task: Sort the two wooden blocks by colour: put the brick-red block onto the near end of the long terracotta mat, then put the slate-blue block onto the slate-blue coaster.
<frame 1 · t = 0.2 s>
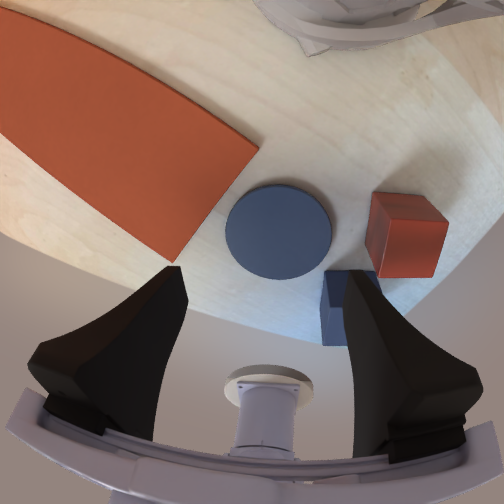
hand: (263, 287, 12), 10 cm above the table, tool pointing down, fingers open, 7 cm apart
blue block: (346, 291, 24), on the table
red block: (394, 220, 20), on the table
blue coaster: (278, 234, 22), on the table
terracotta mat: (36, 90, 16), on the table
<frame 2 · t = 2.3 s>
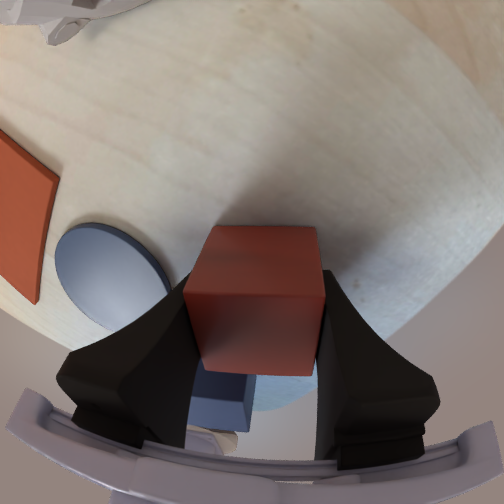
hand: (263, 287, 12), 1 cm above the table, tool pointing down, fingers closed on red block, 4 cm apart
blue block: (220, 355, 17), on the table
red block: (264, 267, 13), on the table, touching gripper
blue coaster: (110, 283, 15), on the table
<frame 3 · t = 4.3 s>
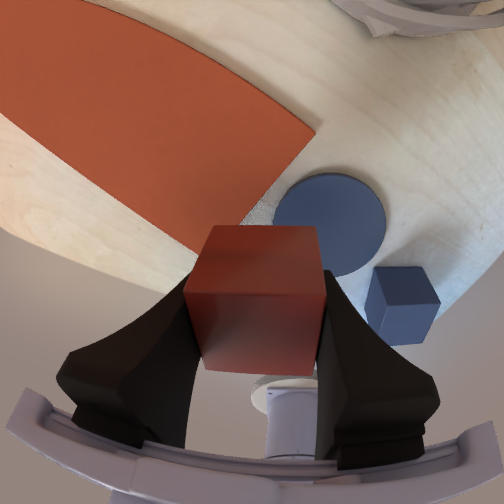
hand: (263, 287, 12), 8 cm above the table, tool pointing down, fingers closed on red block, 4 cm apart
blue block: (392, 288, 22), on the table
red block: (265, 267, 13), point 7 cm above the table, touching gripper
blue coaster: (330, 227, 19), on the table
terracotta mat: (49, 67, 14), on the table
when the fingers open (2 cm above the table, at t = 6.8 s): red block stays where it is, resting on terracotta mat.
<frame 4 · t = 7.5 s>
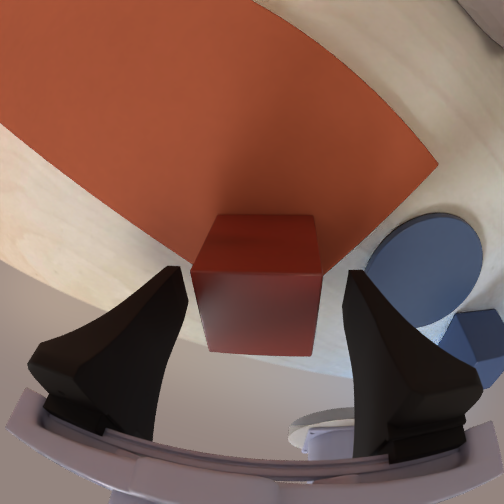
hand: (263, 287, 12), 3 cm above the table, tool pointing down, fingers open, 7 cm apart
blue block: (465, 331, 17), on the table
red block: (266, 254, 14), point 1 cm above the table, touching terracotta mat
blue coaster: (425, 275, 14), on the table
terracotta mat: (48, 40, 9), on the table
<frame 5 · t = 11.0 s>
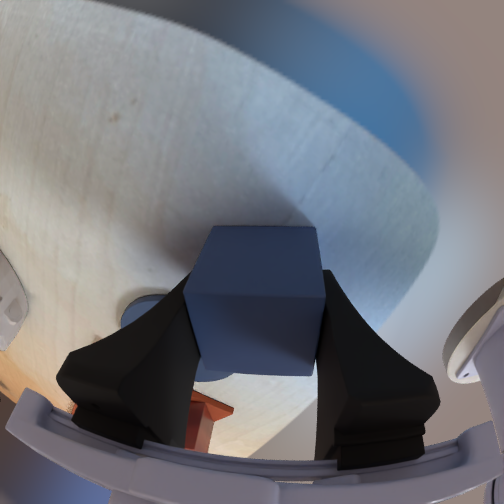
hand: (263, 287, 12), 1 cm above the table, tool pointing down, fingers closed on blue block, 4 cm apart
blue block: (265, 267, 13), on the table, touching gripper
red block: (185, 409, 22), point 1 cm above the table, touching terracotta mat
blue coaster: (180, 342, 17), on the table
terracotta mat: (116, 421, 30), on the table
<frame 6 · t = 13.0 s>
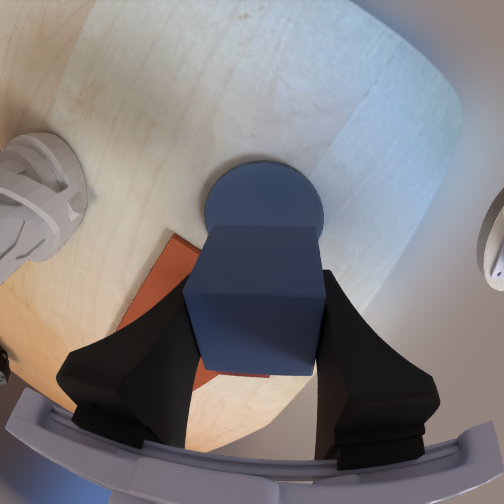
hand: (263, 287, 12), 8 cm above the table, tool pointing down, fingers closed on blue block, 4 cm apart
blue block: (265, 267, 13), point 7 cm above the table, touching gripper
blue coaster: (263, 217, 19), on the table
terracotta mat: (149, 369, 32), on the table
grey mechanical part: (42, 172, 19), on the table
when the fingers open (2 cm above the table, at t = 15.0 s): blue block stays where it is, resting on blue coaster.
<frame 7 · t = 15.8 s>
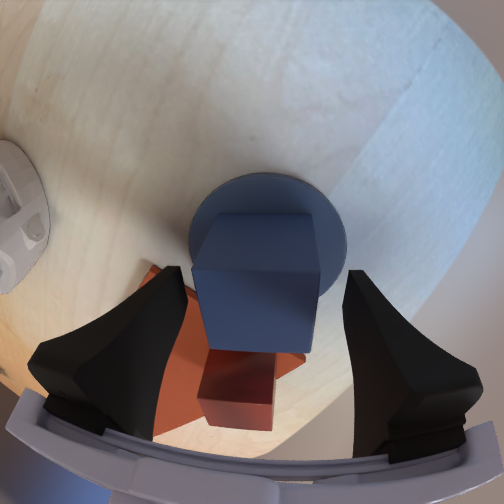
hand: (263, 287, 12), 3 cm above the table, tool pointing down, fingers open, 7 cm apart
blue block: (265, 253, 14), resting on blue coaster
red block: (245, 363, 19), point 1 cm above the table, touching terracotta mat
blue coaster: (267, 248, 15), on the table
terracotta mat: (138, 400, 27), on the table
grey mechanical part: (3, 187, 14), on the table
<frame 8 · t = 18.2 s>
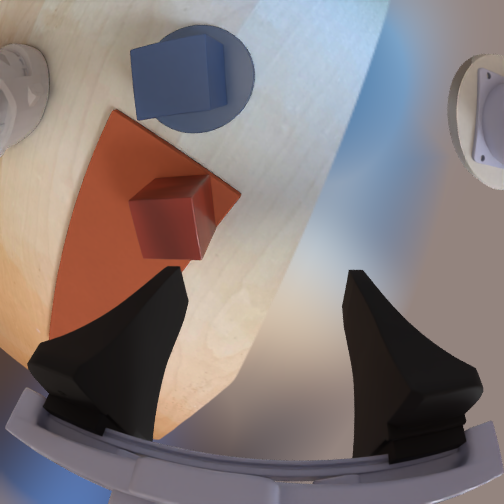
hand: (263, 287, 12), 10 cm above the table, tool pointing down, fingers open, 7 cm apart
blue block: (193, 77, 16), resting on blue coaster
red block: (185, 203, 21), point 1 cm above the table, touching terracotta mat
blue coaster: (196, 78, 17), on the table
terracotta mat: (100, 296, 29), on the table
grey mechanical part: (17, 83, 16), on the table
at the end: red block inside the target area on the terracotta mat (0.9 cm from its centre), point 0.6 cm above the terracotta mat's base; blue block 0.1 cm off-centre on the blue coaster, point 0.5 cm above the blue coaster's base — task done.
